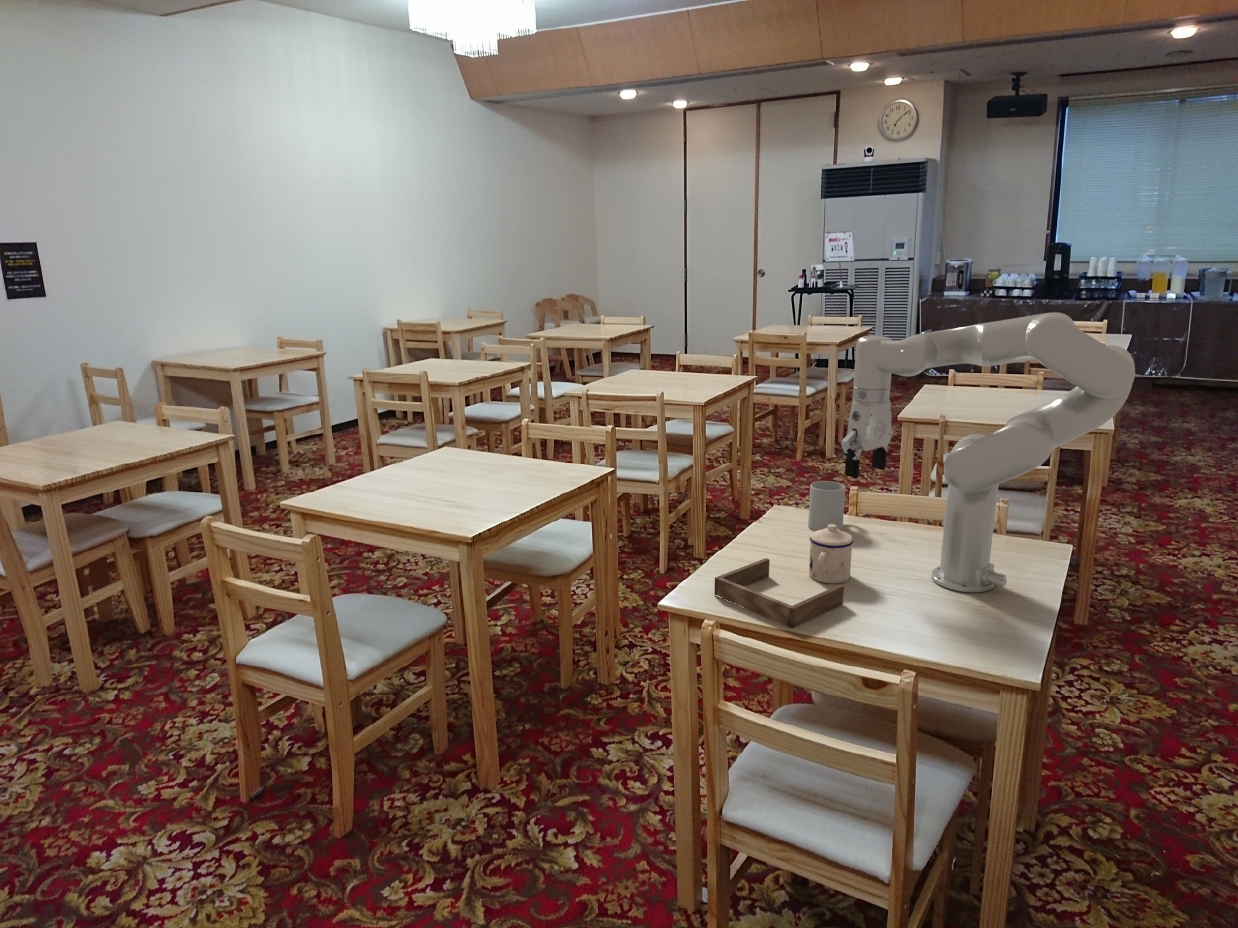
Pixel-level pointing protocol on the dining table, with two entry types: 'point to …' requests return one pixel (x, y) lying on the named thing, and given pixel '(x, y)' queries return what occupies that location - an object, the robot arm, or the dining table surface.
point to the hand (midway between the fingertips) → (865, 472)
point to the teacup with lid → (830, 555)
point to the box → (788, 615)
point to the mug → (826, 505)
